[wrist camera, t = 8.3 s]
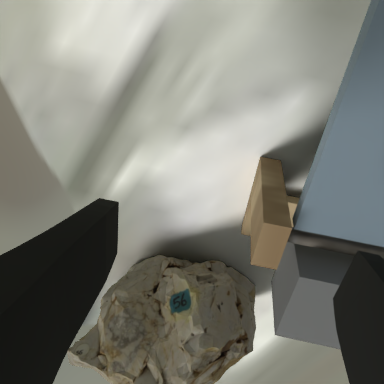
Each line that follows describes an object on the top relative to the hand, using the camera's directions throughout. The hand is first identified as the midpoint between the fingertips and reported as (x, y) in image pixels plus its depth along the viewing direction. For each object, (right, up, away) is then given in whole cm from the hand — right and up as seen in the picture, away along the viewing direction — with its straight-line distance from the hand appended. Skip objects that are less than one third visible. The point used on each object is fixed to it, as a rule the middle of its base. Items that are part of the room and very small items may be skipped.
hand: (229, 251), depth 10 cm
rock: (-3, -5, +16) cm, 17 cm away
